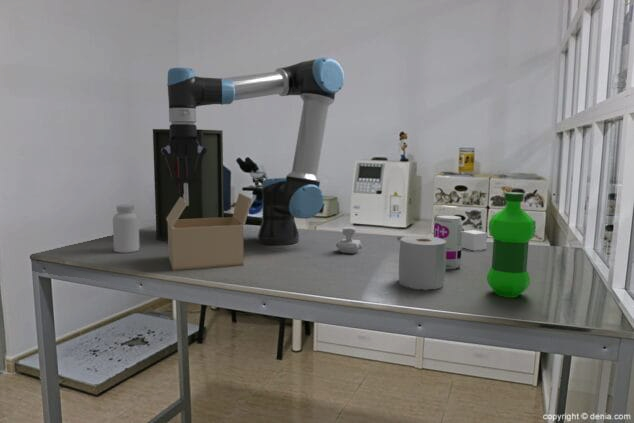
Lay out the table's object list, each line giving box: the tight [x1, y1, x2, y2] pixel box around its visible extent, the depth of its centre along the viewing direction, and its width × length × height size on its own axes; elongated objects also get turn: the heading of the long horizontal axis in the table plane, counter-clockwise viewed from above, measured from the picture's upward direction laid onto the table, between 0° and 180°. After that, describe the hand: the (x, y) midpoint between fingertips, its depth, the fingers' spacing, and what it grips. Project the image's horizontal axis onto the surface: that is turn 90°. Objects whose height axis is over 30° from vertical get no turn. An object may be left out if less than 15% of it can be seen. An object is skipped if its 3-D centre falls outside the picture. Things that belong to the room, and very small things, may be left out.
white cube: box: [462, 229, 488, 251], centre depth 175 cm, size 6×6×6 cm
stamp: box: [335, 226, 364, 255], centre depth 166 cm, size 9×7×8 cm
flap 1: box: [166, 197, 187, 228], centre depth 147 cm, size 8×15×1 cm
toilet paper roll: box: [398, 235, 446, 291], centre depth 131 cm, size 12×12×12 cm
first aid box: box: [152, 128, 225, 241], centre depth 187 cm, size 18×18×40 cm
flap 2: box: [232, 192, 252, 226], centre depth 154 cm, size 8×15×1 cm
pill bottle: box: [112, 204, 140, 254], centre depth 164 cm, size 8×8×15 cm
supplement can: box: [433, 214, 464, 270], centre depth 149 cm, size 8×8×15 cm
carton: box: [167, 216, 245, 272], centre depth 151 cm, size 20×16×12 cm
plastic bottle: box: [486, 191, 537, 298], centre depth 122 cm, size 10×10×25 cm
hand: (186, 205), depth 148 cm, fingers closed
